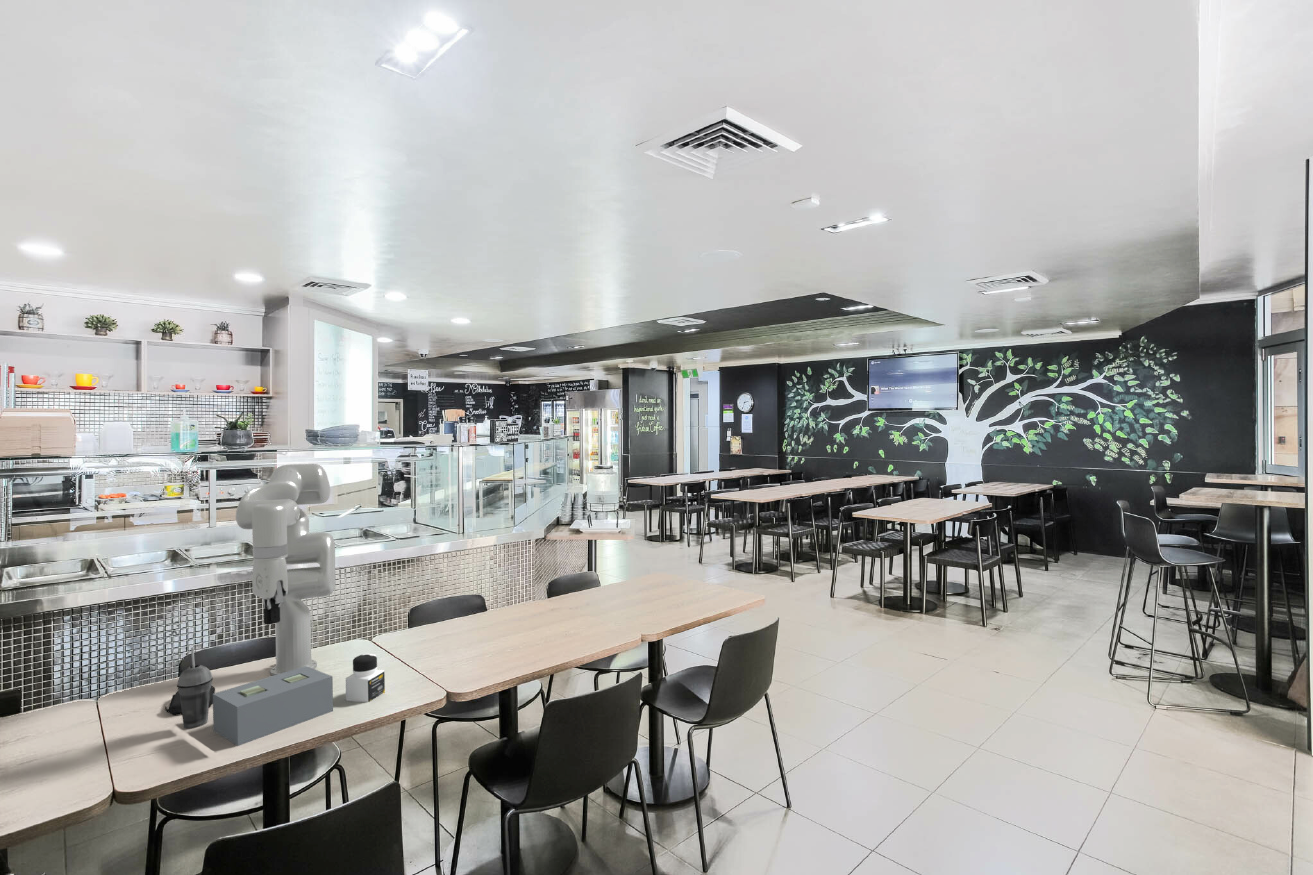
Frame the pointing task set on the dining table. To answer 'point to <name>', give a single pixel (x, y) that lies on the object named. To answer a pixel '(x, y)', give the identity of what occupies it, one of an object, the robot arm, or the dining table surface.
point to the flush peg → (294, 678)
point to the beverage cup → (195, 694)
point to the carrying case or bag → (176, 703)
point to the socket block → (272, 705)
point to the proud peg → (252, 691)
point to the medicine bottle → (365, 679)
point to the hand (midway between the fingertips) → (272, 622)
